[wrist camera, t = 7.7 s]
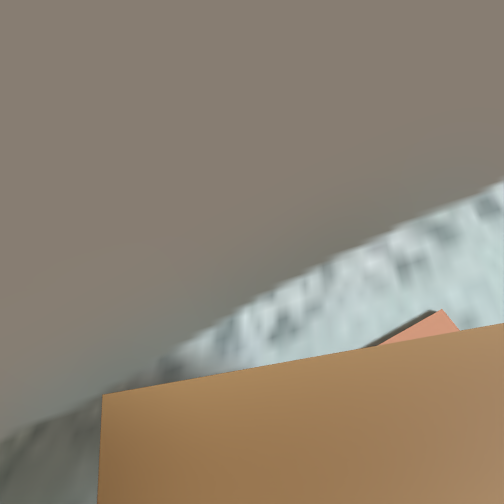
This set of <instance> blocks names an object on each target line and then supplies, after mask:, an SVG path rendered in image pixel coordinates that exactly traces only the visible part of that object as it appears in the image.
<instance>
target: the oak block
mask: <svg viewBox="0 0 504 504" xmlns="http://www.w3.org/2000/svg"><path fill="white" fill-rule="evenodd" d="M97 504H504V323H501V324H496V325H490V326H485V327H479V328H473V329H468V330H462V331H457V332H451V333H445V334H440V335H434V336H429V337H423V338H417V339H412V340H406V341H401V342H395V343H389V344H384V345H378V346H373V347H367V348H361V349H356V350H350V351H345V352H339V353H333V354H328V355H322V356H317V357H311V358H305V359H300V360H294V361H289V362H283V363H277V364H272V365H266V366H261V367H255V368H249V369H244V370H238V371H233V372H227V373H221V374H216V375H210V376H205V377H199V378H193V379H188V380H182V381H177V382H171V383H165V384H160V385H154V386H149V387H143V388H137V389H132V390H126V391H121V392H115V393H109V394H104V395H102V414H101V435H100V455H99V475H98V495H97Z"/></svg>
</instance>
